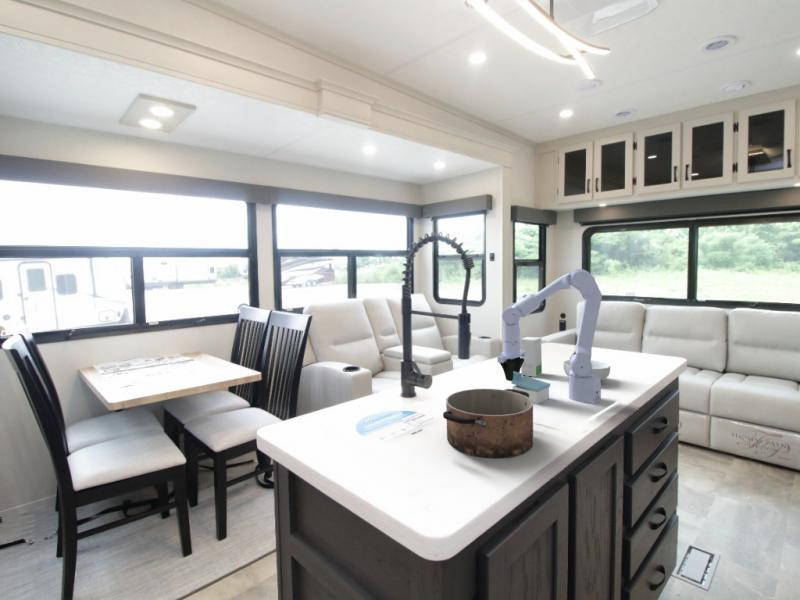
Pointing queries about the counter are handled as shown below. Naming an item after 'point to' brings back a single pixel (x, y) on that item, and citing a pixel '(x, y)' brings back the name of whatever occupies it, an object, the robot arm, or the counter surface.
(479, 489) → the counter surface
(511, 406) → the cooking pot
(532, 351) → the skincare box
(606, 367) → the cereal bowl
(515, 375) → the lid
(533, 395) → the tub
